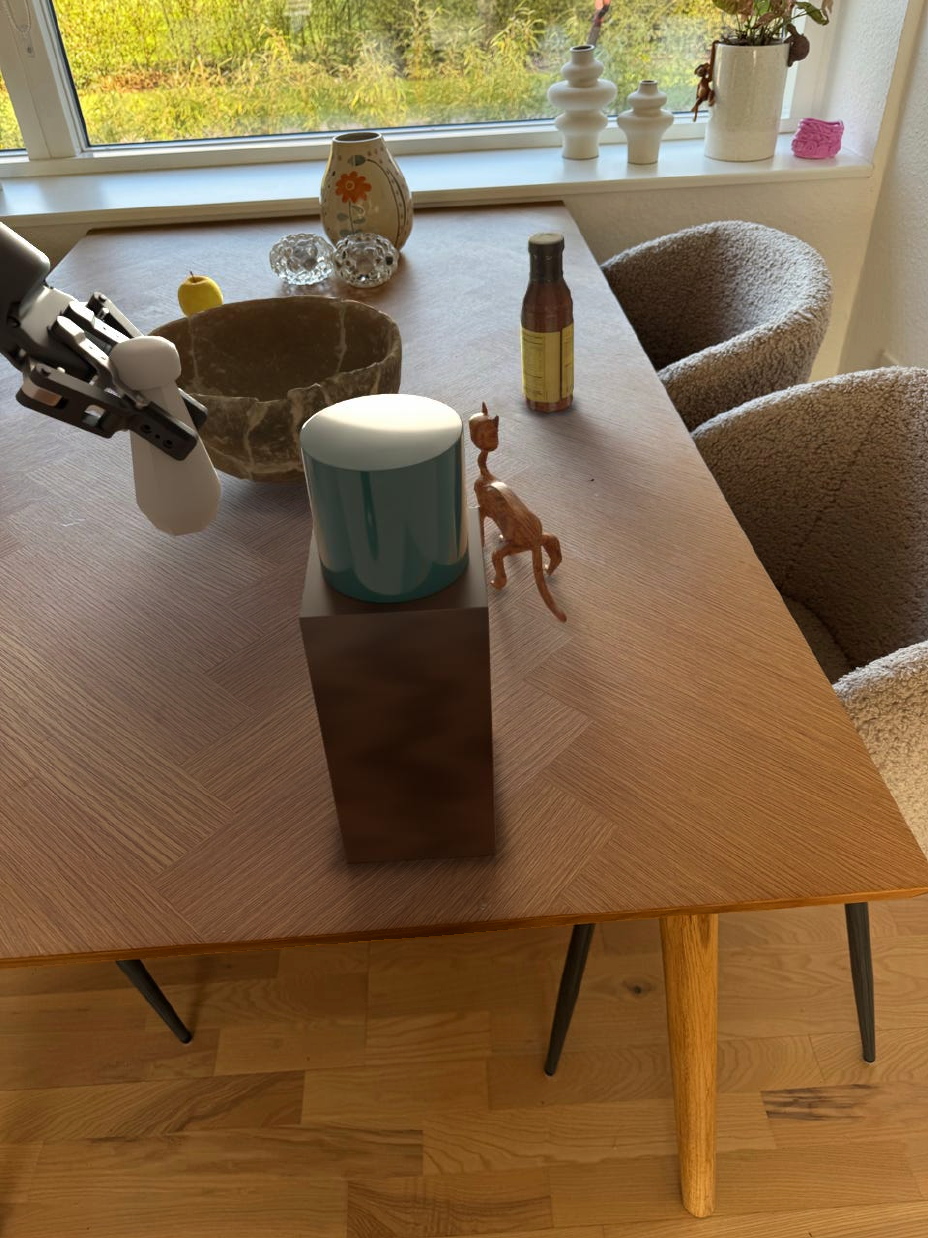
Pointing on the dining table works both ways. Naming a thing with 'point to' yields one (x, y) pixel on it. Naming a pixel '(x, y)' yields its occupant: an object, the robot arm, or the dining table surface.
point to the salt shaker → (162, 484)
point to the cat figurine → (510, 516)
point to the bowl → (279, 374)
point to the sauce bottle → (547, 327)
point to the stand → (406, 713)
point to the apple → (198, 295)
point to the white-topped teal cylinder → (387, 496)
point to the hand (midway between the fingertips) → (195, 436)
